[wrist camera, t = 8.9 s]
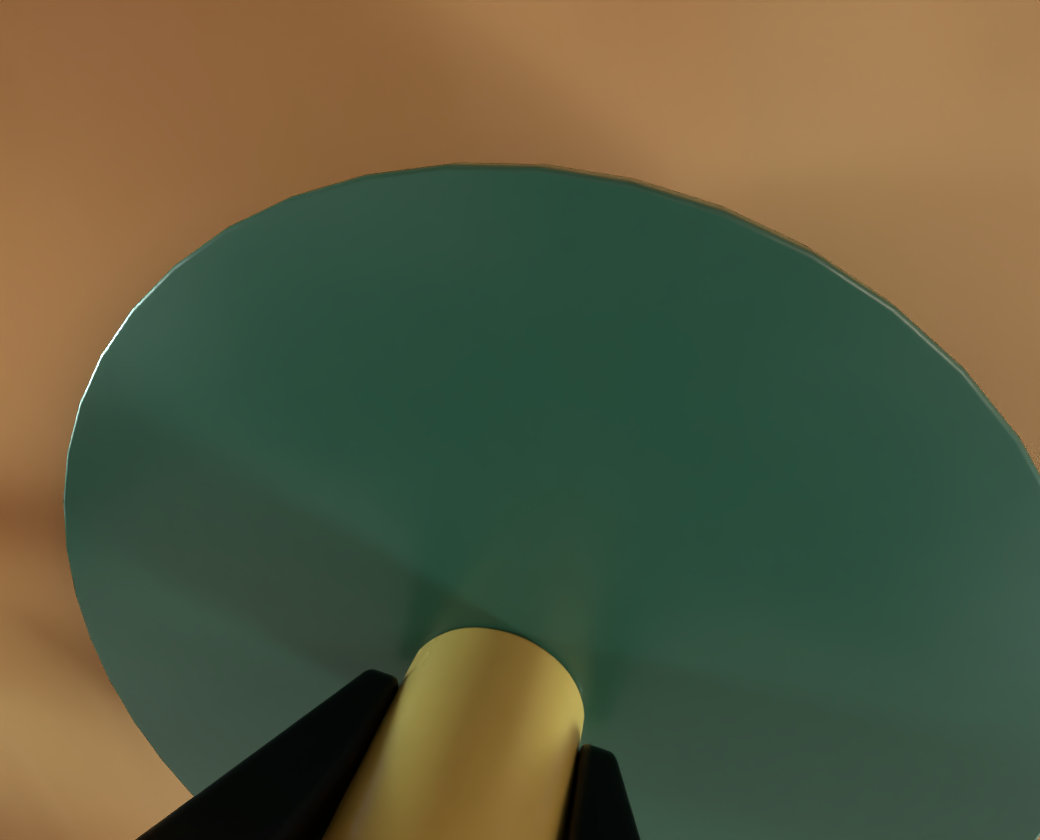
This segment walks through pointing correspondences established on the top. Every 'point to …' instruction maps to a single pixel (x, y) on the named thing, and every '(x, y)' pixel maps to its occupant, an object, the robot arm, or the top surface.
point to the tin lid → (563, 518)
